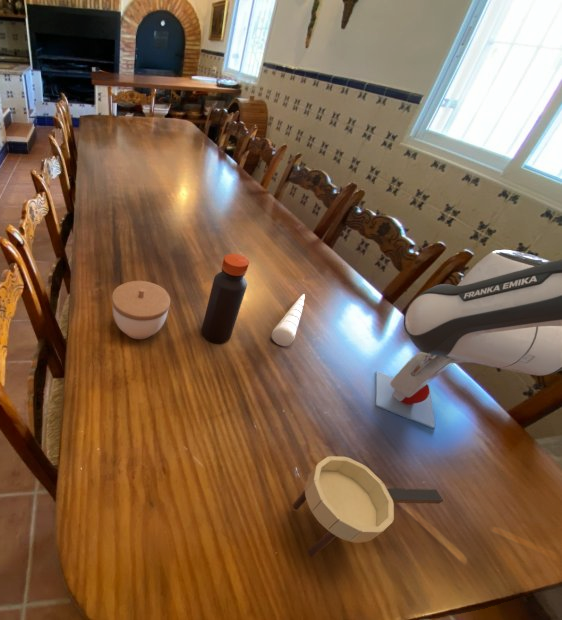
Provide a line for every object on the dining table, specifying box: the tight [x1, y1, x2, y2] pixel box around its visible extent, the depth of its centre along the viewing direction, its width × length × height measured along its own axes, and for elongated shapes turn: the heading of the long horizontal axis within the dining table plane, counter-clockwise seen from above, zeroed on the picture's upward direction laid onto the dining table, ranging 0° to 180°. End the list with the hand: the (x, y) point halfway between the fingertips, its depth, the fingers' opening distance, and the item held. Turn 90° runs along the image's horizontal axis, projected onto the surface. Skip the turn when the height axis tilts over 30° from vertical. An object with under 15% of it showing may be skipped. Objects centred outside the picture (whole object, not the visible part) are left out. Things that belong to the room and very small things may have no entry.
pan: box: [292, 455, 444, 558], centre depth 48 cm, size 16×9×12 cm, turn 91°
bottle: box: [201, 253, 250, 344], centre depth 76 cm, size 7×7×20 cm
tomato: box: [400, 383, 430, 405], centre depth 69 cm, size 5×5×6 cm
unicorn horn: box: [271, 293, 306, 347], centre depth 87 cm, size 5×24×5 cm, turn 143°
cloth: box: [375, 370, 436, 430], centre depth 71 cm, size 10×10×1 cm
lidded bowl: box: [111, 280, 171, 340], centre depth 79 cm, size 13×13×11 cm
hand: (410, 387), depth 70 cm, fingers open, 8 cm apart
